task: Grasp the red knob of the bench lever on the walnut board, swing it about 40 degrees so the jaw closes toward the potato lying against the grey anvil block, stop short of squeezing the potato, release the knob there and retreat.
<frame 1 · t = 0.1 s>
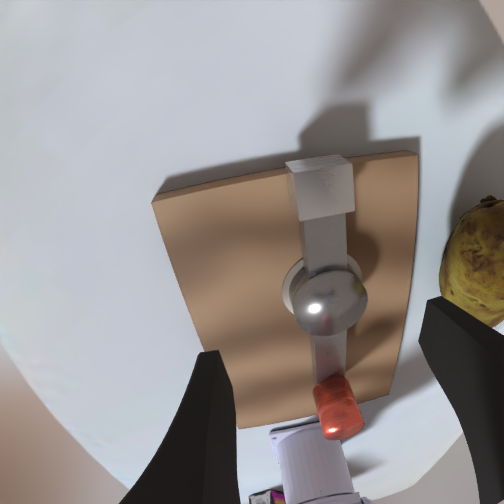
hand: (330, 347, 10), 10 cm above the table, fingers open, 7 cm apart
potato: (458, 250, 22), on the table
candy bar box: (277, 495, 45), on the table
lever: (336, 330, 18), point 4 cm above the table, hinge at 0.0°
board: (307, 323, 23), on the table
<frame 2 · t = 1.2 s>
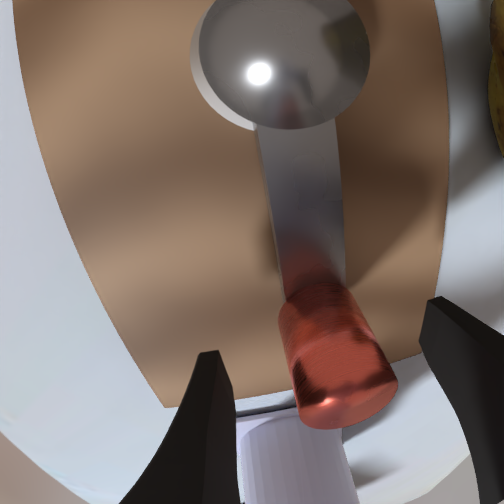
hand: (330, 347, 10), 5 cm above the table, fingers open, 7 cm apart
lever: (303, 90, 7), point 4 cm above the table, hinge at 0.0°
board: (260, 168, 12), on the table
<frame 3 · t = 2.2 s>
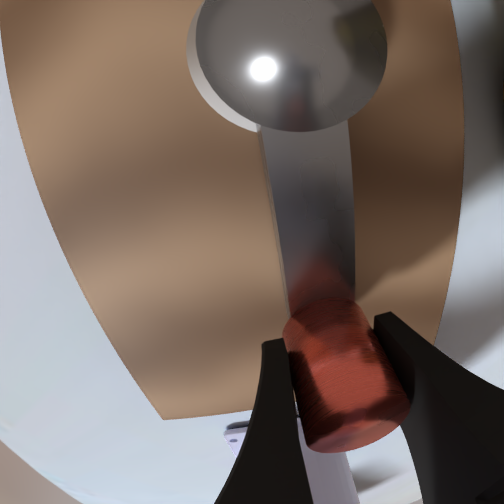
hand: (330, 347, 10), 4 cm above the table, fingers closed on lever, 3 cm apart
lever: (315, 87, 6), point 4 cm above the table, hinge at 0.0°, touching gripper
board: (263, 172, 11), on the table
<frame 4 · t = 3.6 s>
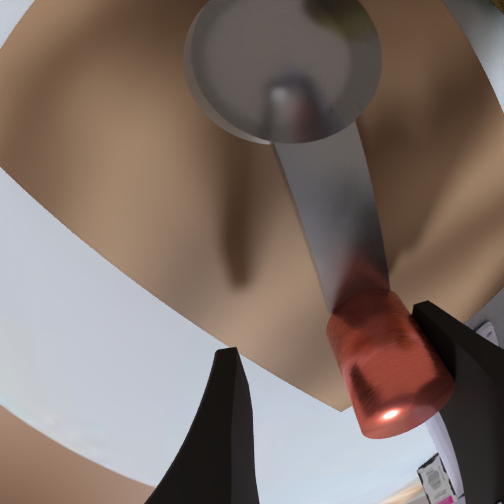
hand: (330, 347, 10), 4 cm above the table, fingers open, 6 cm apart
candy bar box: (451, 453, 31), on the table
lever: (319, 98, 6), point 4 cm above the table, hinge at 22.4°, touching gripper
board: (326, 166, 11), on the table
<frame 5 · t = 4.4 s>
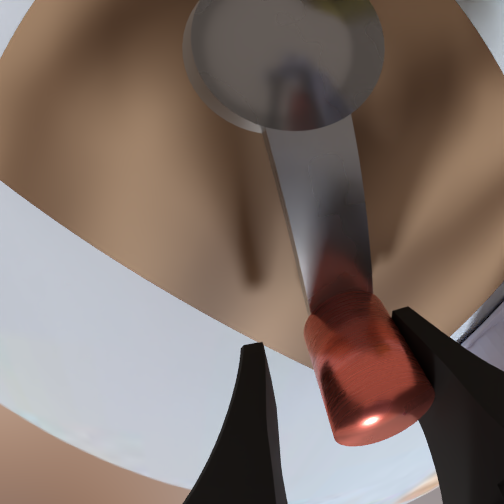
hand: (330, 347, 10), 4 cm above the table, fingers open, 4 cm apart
lever: (316, 85, 6), point 4 cm above the table, hinge at 34.6°, touching gripper
board: (338, 151, 11), on the table
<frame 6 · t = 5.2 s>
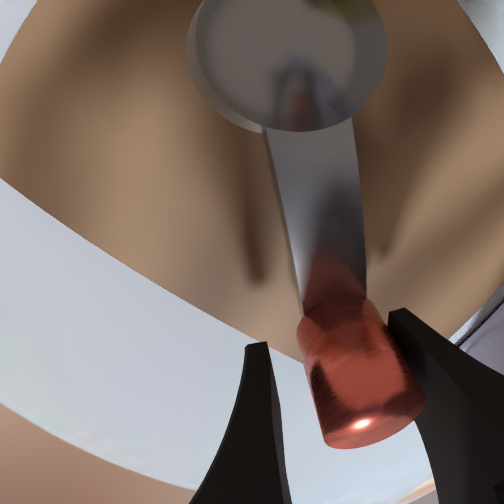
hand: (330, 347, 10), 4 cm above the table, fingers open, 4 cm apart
lever: (318, 87, 6), point 4 cm above the table, hinge at 36.9°
board: (341, 151, 11), on the table
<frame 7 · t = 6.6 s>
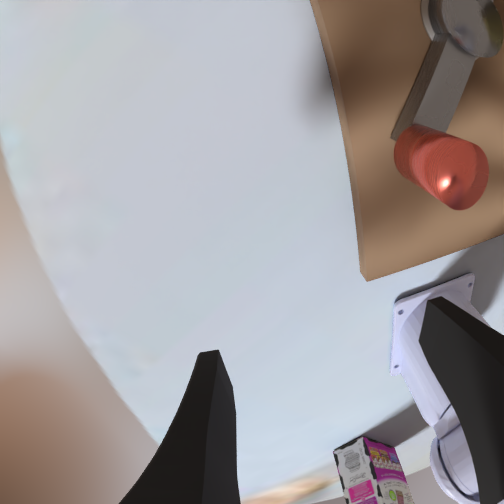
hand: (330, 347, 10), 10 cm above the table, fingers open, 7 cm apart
candy bar box: (365, 448, 37), on the table
lever: (482, 34, 10), point 4 cm above the table, hinge at 36.9°
board: (443, 83, 15), on the table
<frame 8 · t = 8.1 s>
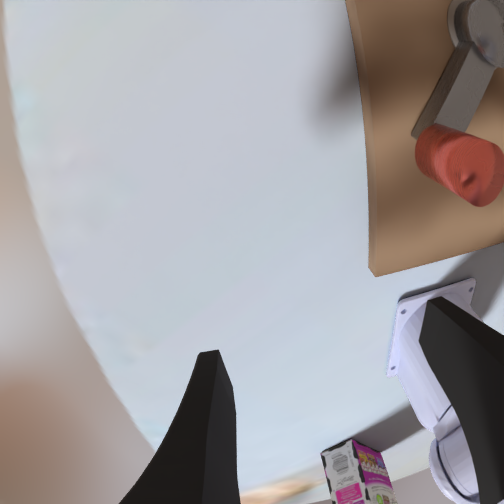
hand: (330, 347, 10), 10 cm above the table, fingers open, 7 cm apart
candy bar box: (351, 452, 37), on the table
board: (461, 89, 15), on the table
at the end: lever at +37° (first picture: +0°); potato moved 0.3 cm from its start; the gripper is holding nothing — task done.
